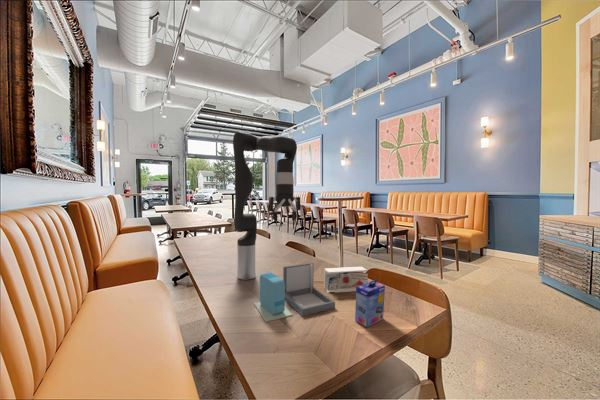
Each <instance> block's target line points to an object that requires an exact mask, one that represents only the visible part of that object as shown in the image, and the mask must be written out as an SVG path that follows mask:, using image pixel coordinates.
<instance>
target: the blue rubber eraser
mask: <svg viewBox="0 0 600 400" xmlns="http://www.w3.org/2000/svg"><path fill="white" fill-rule="evenodd" d="M285 301H286V299H285V283H284V280H283V278H281V277H279V276H278V275H275V274H274V273H272V272H268V273H263V274H260V276H259V302H260V303H261V305H262V306H263V307H264V308H265V309H266V310H267V311H269V312H270V313H271V314H272V315H275V314H278V313H282V312H284V310H285V307H286V305H285V303H286V302H285Z"/></svg>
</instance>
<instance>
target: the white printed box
mask: <svg viewBox="0 0 600 400" xmlns="http://www.w3.org/2000/svg"><path fill="white" fill-rule="evenodd" d="M368 275H369V273H368V269H366V268H365V267H363V266H348V267H347V266H345V267H331V268H329V267H326V268H324V269H323V289H324V288H325V289H326V290H327V291H326V290H325V289H324V290H325V291H326V292H327V294H330V293H329V292H335V293H347V292H356V287H357V286H360V285H362V284H366V283H368V282H369V280H368V278H369V276H368Z"/></svg>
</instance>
